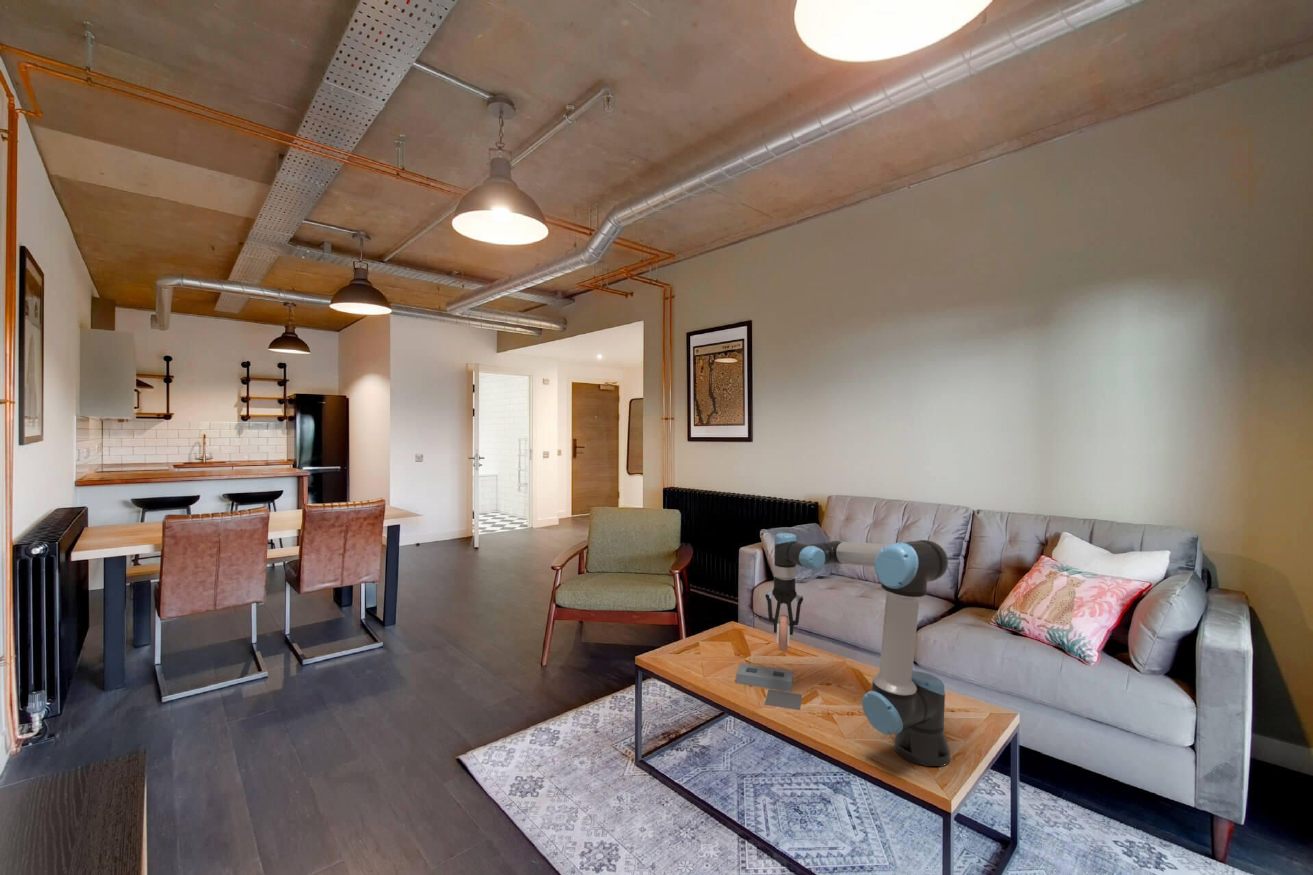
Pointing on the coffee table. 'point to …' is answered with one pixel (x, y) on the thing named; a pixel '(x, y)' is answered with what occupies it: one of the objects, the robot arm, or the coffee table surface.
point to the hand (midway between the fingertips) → (783, 642)
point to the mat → (783, 699)
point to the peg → (783, 633)
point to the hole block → (765, 677)
